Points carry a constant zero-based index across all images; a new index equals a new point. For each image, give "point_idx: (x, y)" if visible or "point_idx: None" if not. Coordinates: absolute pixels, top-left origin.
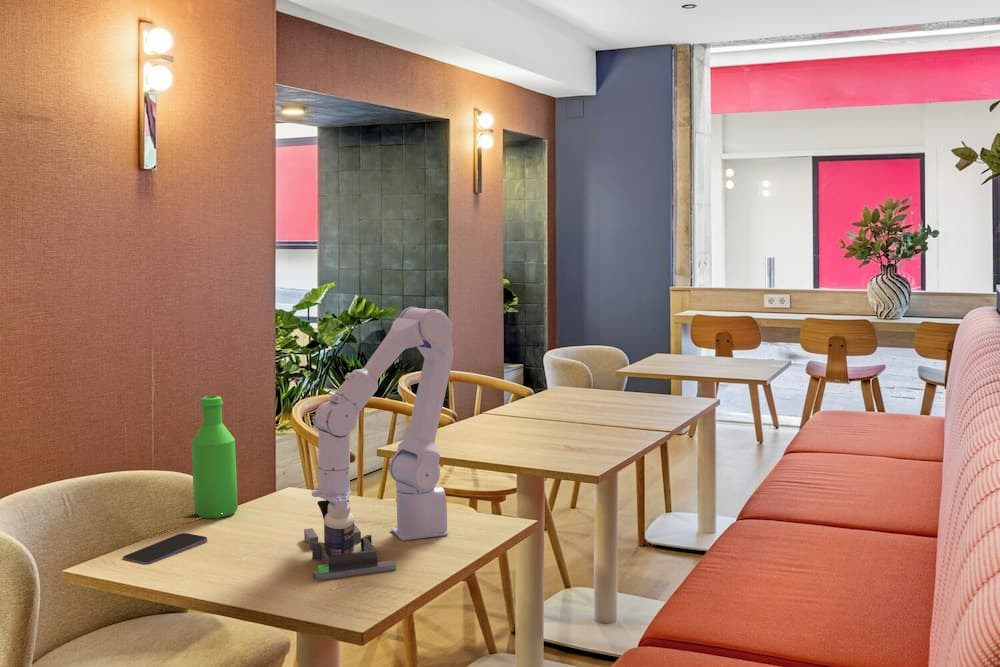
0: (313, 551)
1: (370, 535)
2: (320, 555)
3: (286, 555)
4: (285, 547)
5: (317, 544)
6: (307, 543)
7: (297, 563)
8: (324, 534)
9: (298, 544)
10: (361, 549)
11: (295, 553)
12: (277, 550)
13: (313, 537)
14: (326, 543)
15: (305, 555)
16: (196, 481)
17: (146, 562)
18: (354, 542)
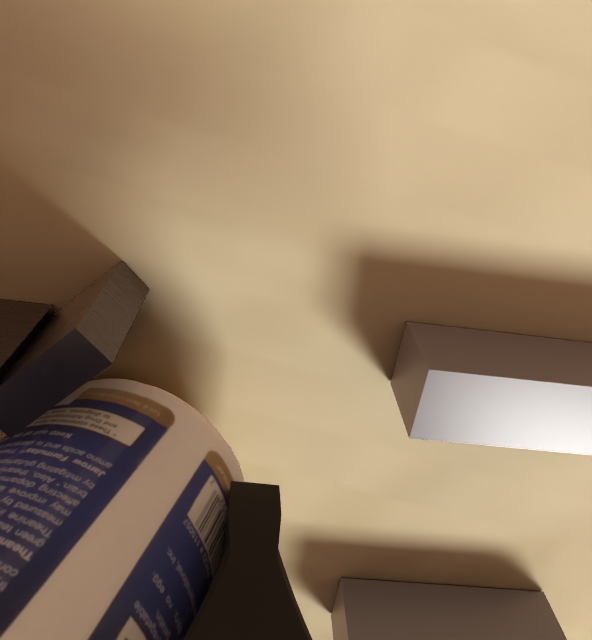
0: (90, 296)
1: None
2: (24, 325)
3: (349, 75)
4: (588, 144)
5: (26, 363)
6: (521, 338)
7: (51, 99)
8: (18, 499)
9: (580, 273)
10: None
11: (357, 175)
12: (559, 38)
13: (424, 403)
14: (21, 441)
15: (252, 237)
16: None
17: None
18: (340, 588)
